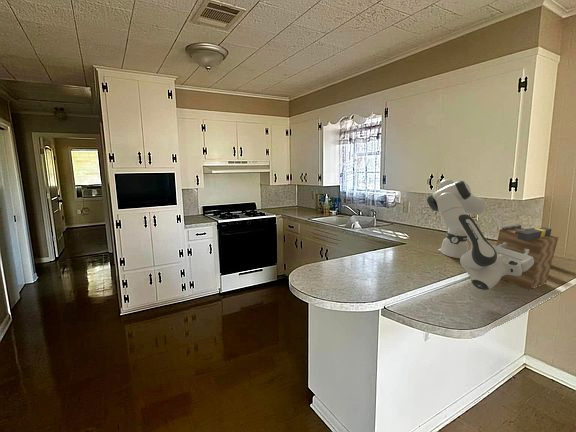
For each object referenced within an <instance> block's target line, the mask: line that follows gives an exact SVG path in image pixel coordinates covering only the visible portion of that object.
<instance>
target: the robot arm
mask: <svg viewBox="0 0 576 432" xmlns="http://www.w3.org/2000/svg"><path fill="white" fill-rule="evenodd" d="M471 190H472V189H471V186H470V185H469V184H468V183H467V182H465V181H464V180H458V181H454V180H452V179H442V180H441V181H440V182H439V183H438V185H437V190H436V191H434V193H431V194H429V195H428V196H427V197H426V202H427V205H428V207H429V209H431V210H432V211H433V212H438V213H439V215H440V218H441V220H442V223H443V224H444V225H445V227H446V228H448V229H447V231H446V234H445V235H446V236H445V238H444V239H442V244H441V248H438V250H437V251H438V252H440V253H441V254H443V255H445V256H448V257H451V258H456V259H459V263H460V266H461V268H462V269H463V270H464V271H466V273H467V274H468V276H469V278H470V282H471V284H472V285H473V287H475V288H477V289H479V290H480V291H488V290H490V289H492V288H494V287H495V286H496V285H497V284H498V283H499V282H500V281H501V280H502V279H501V277H502V276H504V275H515V276H521V275H522V272H525V271H527V270H528V269H529V268H530V267H531V266H532V265H533V264H534V258H533V257H532V256H528V253H529V249H526V248H525V249H524V254H522V253H519V252H515V251H512V250H509V249H505V248H506V247H507V246H508V243H505V242H504V243H503V244H500V245H498V246H496V245H495V244H491V243H490V242H489V241H488V240H487V239H486V237H485V235H484V234H483V232H482V231H481V229H480V228H479V225H477V222H476V221H475V220H474V219H473V217H472V216H471V215H473V216H474V215H476V216H477V215H478V216H479V215H482V214H483V213H485V211H486V210H487V201H486V200H485V199H483V198H481V197H478V196H476V195H474V194H472V191H471ZM468 241H469V242H470V244H471V247H470V248H471V249H469V243H468ZM503 247H505V248H503Z"/></svg>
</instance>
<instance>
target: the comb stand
mask: <svg viewBox="0 0 576 432" xmlns="http://www.w3.org/2000/svg"><path fill="white" fill-rule="evenodd" d="M532 229H536V228H534V227H527V228H523V227H522V224H513V225H508V226H502V228H500V229H499V231H498V236H497V240H496V245H495V246H498V245H500V244H503V243H504V242H505V243H508V246H507V247H506V248H505V247H503V248H505V249H509V250H512V251H515V252H519V253H522V254H524V249H525V248H526V249H529V253H528V256H532V257H533V258H534V264H533V265H532V266H531V267H530V268H529V269H528V270H527V271H525V272H522V275H521V276H515V275H504V276H502V277H501V279H500V280H505V281H506V282H509V283H511V284H515V285H517V286H519V287H521V286H523V287H522V288H524V287H526V288H525V289H527V288H529V289H531V288H534V287H536V286H539V285H542V284H544V283H546V284H547V282H548V277H549V274H550V269H551V266H552V263H553V259H554V256H555V251H556V248H557V245H558V241H559V236H555V235H551V234H550V236H546V237H541V238H537V239H533V240H528V241H523V240H520V239H518V235H519V232H522V231H527V230H532ZM542 286H543V285H542ZM539 287H540V286H539ZM529 289H528V290H529ZM534 289H535V288H534ZM531 290H532V289H531Z"/></svg>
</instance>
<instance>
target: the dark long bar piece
mask: <svg viewBox="0 0 576 432" xmlns="http://www.w3.org/2000/svg"><path fill="white" fill-rule="evenodd" d="M552 230H553V229H552V228H549V227H545V226H543V227H537V228H535V229H532V230H527V231H522V232H519V235H518V239H520V240H523V241H528V240H533V239H537V238H541V237H546V236H550V235H551V233H552Z"/></svg>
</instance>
